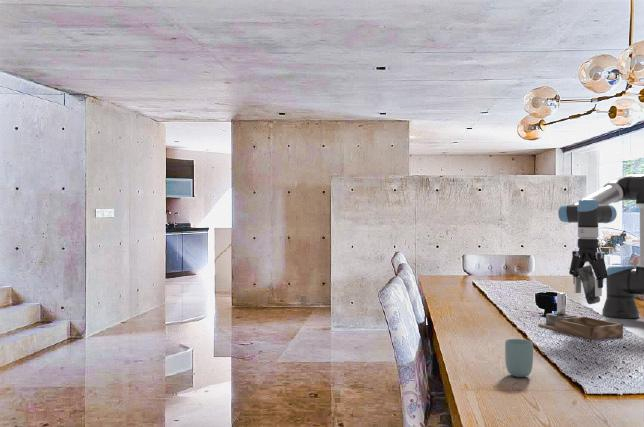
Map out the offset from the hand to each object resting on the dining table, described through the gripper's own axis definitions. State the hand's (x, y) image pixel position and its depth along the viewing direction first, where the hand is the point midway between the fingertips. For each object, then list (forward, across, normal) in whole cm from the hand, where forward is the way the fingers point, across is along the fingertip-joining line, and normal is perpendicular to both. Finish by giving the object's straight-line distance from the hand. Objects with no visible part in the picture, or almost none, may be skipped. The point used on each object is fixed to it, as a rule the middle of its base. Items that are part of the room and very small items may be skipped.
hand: (587, 294), depth 236 cm
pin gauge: (+14, -14, 0) cm, 20 cm away
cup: (+16, +37, -67) cm, 78 cm away
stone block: (+4, 0, 0) cm, 4 cm away
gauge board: (+15, -5, 0) cm, 16 cm away
